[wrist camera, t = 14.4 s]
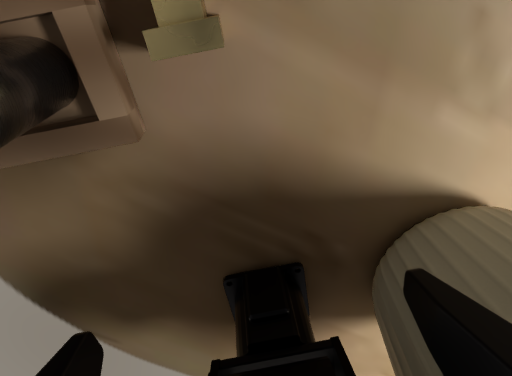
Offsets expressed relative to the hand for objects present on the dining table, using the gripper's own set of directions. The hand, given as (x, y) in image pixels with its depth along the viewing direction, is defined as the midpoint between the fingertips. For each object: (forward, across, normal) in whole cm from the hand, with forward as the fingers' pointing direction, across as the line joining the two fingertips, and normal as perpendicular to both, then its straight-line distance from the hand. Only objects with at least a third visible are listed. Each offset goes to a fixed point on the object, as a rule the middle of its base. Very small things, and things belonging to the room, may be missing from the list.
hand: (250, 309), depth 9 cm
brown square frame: (+12, +9, -6) cm, 17 cm away
